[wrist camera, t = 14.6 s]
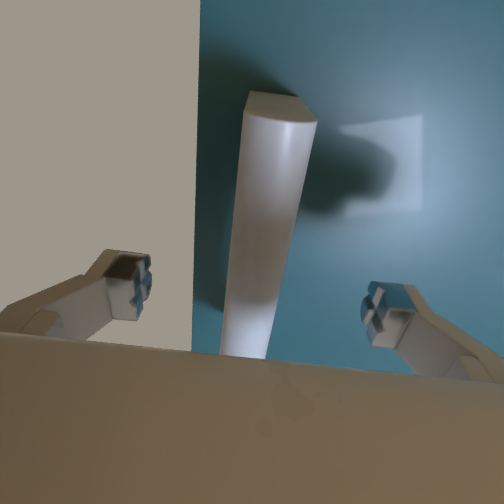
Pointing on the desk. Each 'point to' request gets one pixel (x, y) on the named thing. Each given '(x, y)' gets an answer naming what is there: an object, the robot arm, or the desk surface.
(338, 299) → the fridge door
